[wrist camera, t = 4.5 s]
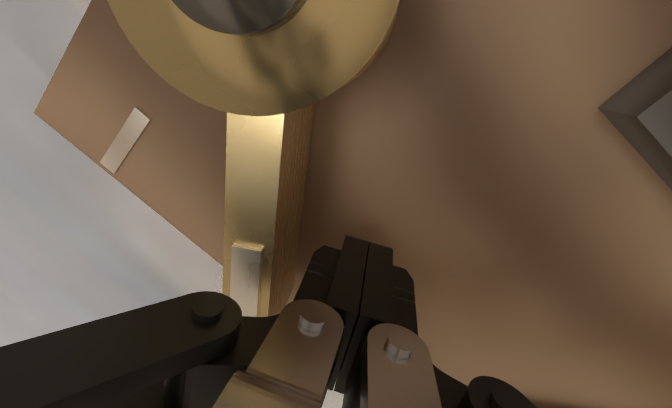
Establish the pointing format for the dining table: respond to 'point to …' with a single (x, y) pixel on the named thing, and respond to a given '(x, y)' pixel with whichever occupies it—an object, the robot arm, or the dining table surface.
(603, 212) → the levelling plate
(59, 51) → the dining table surface
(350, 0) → the dial
